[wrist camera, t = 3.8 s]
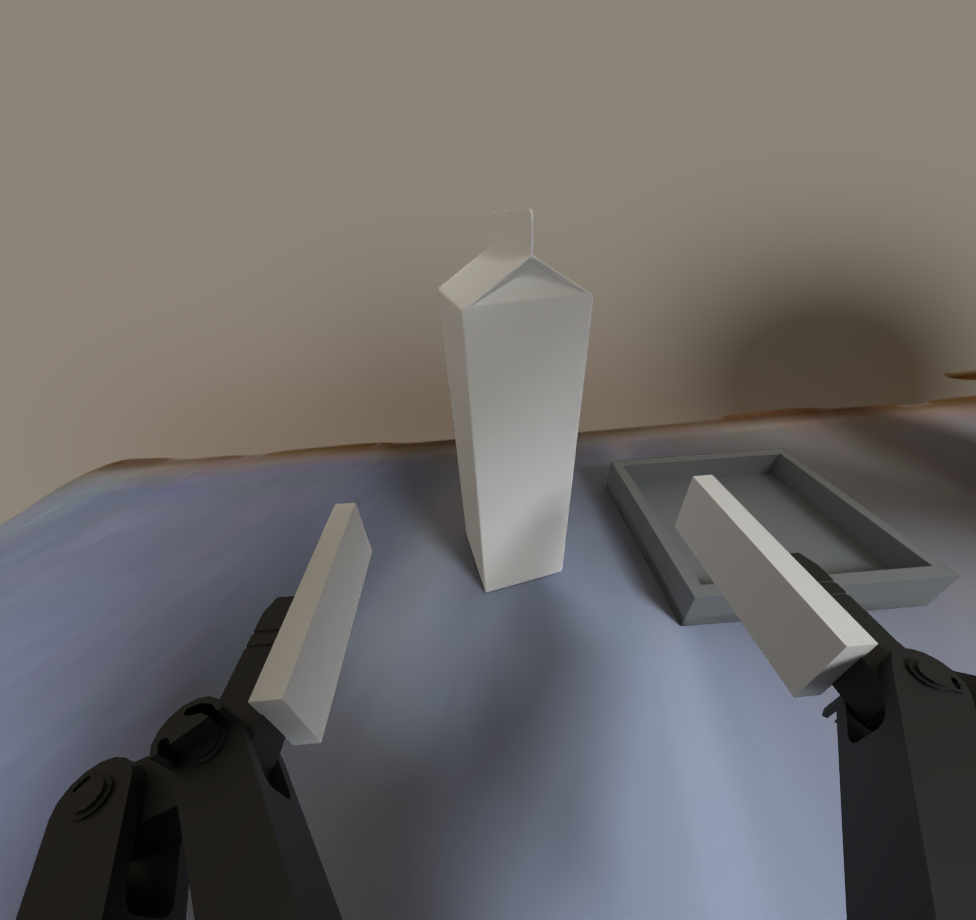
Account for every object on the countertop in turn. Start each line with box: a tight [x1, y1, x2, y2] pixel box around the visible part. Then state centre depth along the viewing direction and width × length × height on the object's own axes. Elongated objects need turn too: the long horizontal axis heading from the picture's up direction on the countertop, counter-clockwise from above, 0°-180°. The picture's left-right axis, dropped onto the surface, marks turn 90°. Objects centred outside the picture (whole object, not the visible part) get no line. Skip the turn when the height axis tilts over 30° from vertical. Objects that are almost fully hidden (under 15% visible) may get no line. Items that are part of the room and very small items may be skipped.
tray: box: [607, 449, 960, 626], centre depth 27 cm, size 16×14×3 cm
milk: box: [438, 208, 593, 592], centre depth 21 cm, size 6×6×22 cm
